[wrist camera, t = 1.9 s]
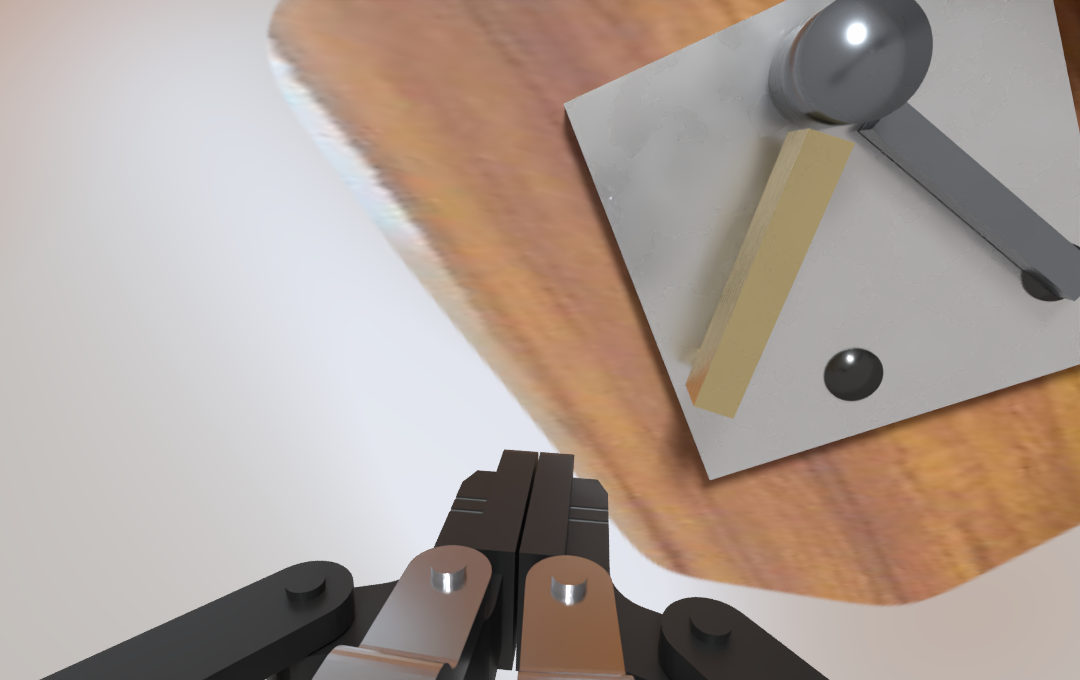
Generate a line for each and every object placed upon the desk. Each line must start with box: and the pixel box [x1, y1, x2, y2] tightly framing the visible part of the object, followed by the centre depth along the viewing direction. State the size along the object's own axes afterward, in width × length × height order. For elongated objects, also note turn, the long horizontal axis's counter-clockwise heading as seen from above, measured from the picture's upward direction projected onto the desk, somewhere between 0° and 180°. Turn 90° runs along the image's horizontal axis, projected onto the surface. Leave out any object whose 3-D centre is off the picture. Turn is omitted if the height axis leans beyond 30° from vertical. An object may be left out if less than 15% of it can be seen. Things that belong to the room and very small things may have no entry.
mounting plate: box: [564, 0, 1080, 480], centre depth 23 cm, size 18×18×5 cm
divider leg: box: [685, 128, 855, 419], centre depth 23 cm, size 10×2×4 cm, turn 163°
